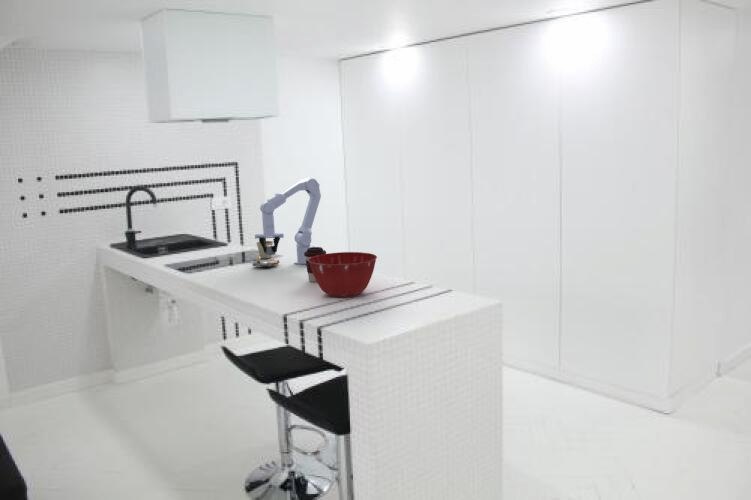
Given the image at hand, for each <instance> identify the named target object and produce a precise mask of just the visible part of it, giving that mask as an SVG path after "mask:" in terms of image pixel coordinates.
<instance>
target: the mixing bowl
mask: <svg viewBox="0 0 751 500" xmlns="http://www.w3.org/2000/svg"><path fill="white" fill-rule="evenodd" d="M377 259H378V256H377V255H376V254H373V253H369V252H362V251H361V252H358V251H356V252H355V251H346V252H345V251H344V252H343V251H341V252H340V251H339V252H330V253H326V254H322V255H317V256H314V257H311V258H309V259H308V262H309V263H310V267H311V270H312V272H313V275H314V277H315V279H316V281H317V282H316V283H317V285H318V286H319V288H320V290H321V291H322V292H323V293H325V294H326V295H327V296H329V297H333V298H350V297H355V296H356V297H357V296H358V295H360V294H361V293H362V292H364V291H365V290H366V289H367V288H368V286H369V284H370V281H371V280H372V276H373V273H374V271H375V270H374V269H375V266H376V262H377Z"/></svg>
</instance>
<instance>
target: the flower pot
mask: <svg viewBox="0 0 751 500" xmlns="http://www.w3.org/2000/svg"><path fill="white" fill-rule="evenodd" d="M255 244H256V246H257V249H258V253H259V254H258V255H259V256H260V260H266V259H271V258H272V255H266V252H265V253H264V250H263V247H262V245H261V243H260V242H259V241H257V242H255ZM269 245H273V246H274V241H273V240H266V246H269Z"/></svg>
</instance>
